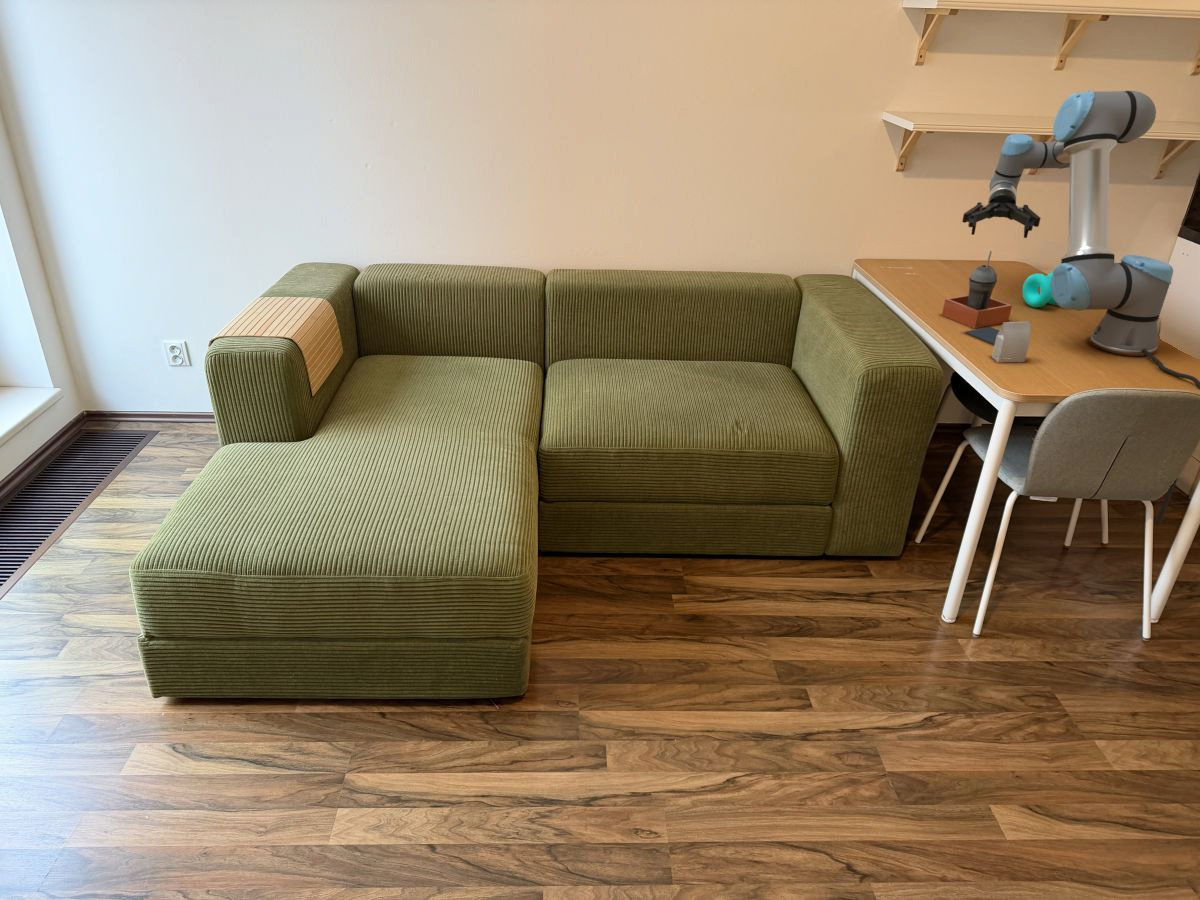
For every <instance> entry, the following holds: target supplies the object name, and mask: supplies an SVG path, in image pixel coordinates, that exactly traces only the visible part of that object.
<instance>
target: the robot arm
mask: <svg viewBox="0 0 1200 900" xmlns="http://www.w3.org/2000/svg"><path fill="white" fill-rule="evenodd" d="M1156 116H1157V110H1156V105H1155V102H1154V101H1153V99H1151V97H1150V96H1149V95H1147V94H1146V93H1143V92H1141V91H1136V90H1107V91H1106V90H1103V91H1101V90H1100V91H1094V90H1088V91H1079V92H1075V93H1071V95H1069V96H1067V98H1066V99H1065V100H1064V101H1063V102H1062V103H1061V105H1060V107H1059V109H1058V110H1057V113H1056V115H1055V118H1054V121H1053V130H1052V133H1053V134H1052V135H1053V137H1054V140H1055V141H1034V138H1033V137H1032V136H1030V135H1029V134H1025V133H1011V134H1009V135H1008V136H1007V137H1006V138H1005V141H1004V143H1003V145H1002V148H1001V151H1000V155H999V157H998V160H997V161H998V162H997V165H996V168H995V171H994V173H993V175H992V177H991V179H990V182H989V194H988V202H987V204H986V205H984V204H982V202H977V203H976V205H975V206H973V207H971V208H970V209H969V210H967V211H966V212H964V213H963V216H962V221H961V222H962V223H967V222H968V228H971V235H972V236H975V233H976V228H977V223H978V222H980V221H983V220H985V219H989V220H990V219H992V218H1006V219H1008V220H1010V221H1016V222H1017V223H1018V224H1021V225H1023V226H1024V227H1023V239H1027V238H1028V235H1029V231H1030V232H1032V231H1033V227H1034V228H1037V227H1039V226H1040V222H1041V217H1040V216H1039V215H1038V214H1036V213H1035V211H1033V210H1032V209H1030V208H1029V205H1028V204H1023V206H1019V207H1018V205H1017V191H1018V186H1019V183H1020V180H1021V177H1022V175H1023V172H1024V170H1028V169H1029V170H1032V169H1033V170H1034V169H1059V170H1062V169H1069V190H1068V192H1069V193H1068V195H1069V197H1068V241H1067V242H1068V246H1067V248H1068V249H1067V252H1066V253H1065V254H1064V255H1063V256H1062V257H1061V259H1060V260H1061V261H1060V262H1061V263H1060V264H1058V265H1056V266H1055V268H1054V269H1053V271H1052V272H1053V276H1051V283H1050V285H1051V293H1052V296H1053V298H1054V300H1055V302H1056V303H1057V304H1058V305H1057V306H1059V307H1060V308H1062V309H1064V310H1071V311H1075V310H1076V311H1077V312H1078V311H1086V310H1088V311H1089V310H1090V311H1091V310H1093V311H1094V310H1106V312H1105V315H1103V317H1102V318H1101V320H1100V321H1099V323H1098V324H1097V325H1096V327H1095V328H1094V330H1093V331H1092V333H1091V335H1090V338H1089V343H1090V344H1091V345H1092V346H1093V347H1095V348H1096V349H1098V350H1101V351H1104V352H1108V353H1110V354H1115V355H1121V356H1127V357H1128V356H1129V357H1145V356H1146V357H1148V359H1150V360H1151V361H1152V362H1154V363H1155V364H1156V365H1157V366H1158V367H1159V369H1160V370H1162V371H1163V372H1165V373H1167V374H1170V375H1172V376H1174V377H1177V378H1182V379H1186V380H1188V381H1189V380H1190V381H1191V382H1193V383H1194V384H1195V385H1196V387H1197V389H1198V390H1200V379H1198V378H1197V377H1195V376H1194V375H1190V374H1186V373H1181V372H1178V371H1175V370H1173V369H1171V368H1168V367H1166V366H1165V365H1164V363H1163V362H1162V361H1161V360H1160V359H1158V357H1156V356H1155V355H1154V354H1156V353H1157V350H1158V347H1159V331H1158V329H1159V328H1158V321H1159V318H1160V314H1161V311H1162V310H1163V306H1164V303H1165V300H1166V296H1167V294H1168V290H1169V289H1170V285H1172V279H1173V274H1174V268H1173V266H1172V265H1171V264H1170V263H1167V262H1165V261H1163V260H1160V259H1157V258H1152V257H1147V256H1142V255H1137V254H1126V255H1123V256H1122V258H1121V259H1120V262H1115V253H1114V252H1113V251H1112V250H1111V249H1109V205H1110V204H1109V203H1110V202H1109V201H1110V200H1109V198H1110V161H1111V160H1110V159H1111V158H1110V157H1111V156H1110V155H1111V151H1112V150H1113V149H1114V148H1115V147H1116V146H1117V145H1118V144H1119V145H1121V144H1127V143H1130V142H1132V141H1135V140H1138V139H1139V138H1141V137H1143V136H1144V135H1145V134H1147V133H1148V131H1150V130H1151V128H1152V127H1153V125H1154V124H1155V120H1156ZM1178 479H1179V477H1178V478H1177V479H1176V480H1175V481H1174V483H1173V484H1172V485H1171V486H1170V485H1169V487H1170V488H1168V489H1167V492H1166V494H1165V497H1164V500H1163V502H1162V504H1161V508H1160V510H1159V513H1158V515H1157V518H1156V521H1155V523H1156V524H1159V525H1160V524H1161V523H1162V520H1163V517H1164V514H1165V512H1166V509H1167V507H1168V504H1169V502H1170V500H1171V497H1172V494H1173V491H1174V489H1175V487H1176V485H1177V482H1178Z"/></svg>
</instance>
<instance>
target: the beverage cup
mask: <svg viewBox="0 0 1200 900" xmlns="http://www.w3.org/2000/svg"><path fill="white" fill-rule="evenodd" d="M991 256H992V251H991V250H990V251H989V253H988V257H987V261H986V264H983V265H979V266H977V267H976V268H974V269H973V270H972V272H971V273H970V276H969V277H968V286H969V289H968V295H969V296H968V304H967V306H968V307H971V308H973V309H976V310H983V309H987V306H988V303H989V300H990V298H992V297H991V296H992V294H993V291H994V289H995V286H996V283H998V275H997V271H996V269H995V268H994V267H992V266H991V265H989V264H990V260H991Z"/></svg>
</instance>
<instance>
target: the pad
mask: <svg viewBox="0 0 1200 900" xmlns="http://www.w3.org/2000/svg"><path fill="white" fill-rule="evenodd" d="M999 331H1000V329H996V328H994V327H991V326H986V327H981V328H976V329H971V330H967V331H965V334H966V335H969V336H971V337H973V338H975V339H978V340H980V341H982V342H985V343H988V344H990V345H993V346H994V345H995V341H996V337H997V334H998V332H999Z"/></svg>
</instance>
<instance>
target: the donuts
mask: <svg viewBox="0 0 1200 900" xmlns="http://www.w3.org/2000/svg"><path fill="white" fill-rule="evenodd" d="M1051 276H1053V271H1051V272H1049V273H1048V274H1047V275H1046V274H1043V273H1033V274H1031V275H1029V276H1028V277H1027V278H1026V279H1025V280H1024V282H1023V285H1022V289H1021V290H1022V291H1021V293H1022V298H1023V300H1024V302H1025V303H1026V304H1027V305H1028V306H1029V307H1032V308H1041V307H1044V306H1046V304H1049V305H1052V306H1059V305H1058V304H1057V303H1056V302H1055V300H1054V298H1053V296H1052V293H1051V285H1050V283H1051ZM1039 288H1040V291H1039Z"/></svg>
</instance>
